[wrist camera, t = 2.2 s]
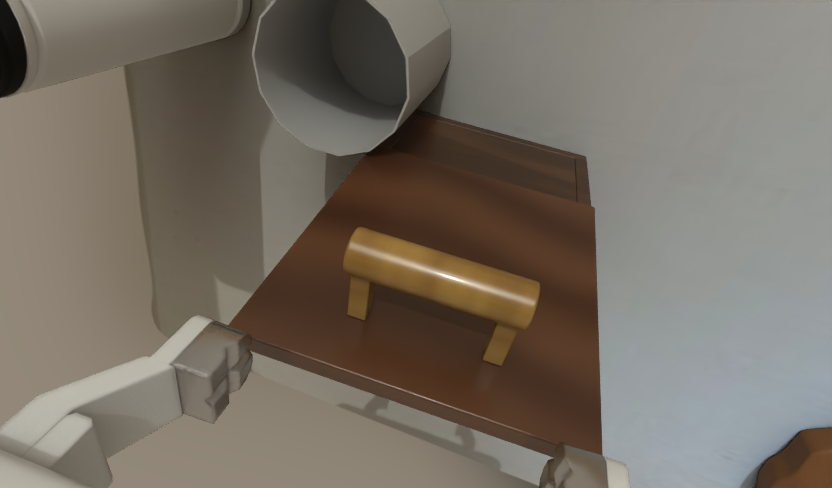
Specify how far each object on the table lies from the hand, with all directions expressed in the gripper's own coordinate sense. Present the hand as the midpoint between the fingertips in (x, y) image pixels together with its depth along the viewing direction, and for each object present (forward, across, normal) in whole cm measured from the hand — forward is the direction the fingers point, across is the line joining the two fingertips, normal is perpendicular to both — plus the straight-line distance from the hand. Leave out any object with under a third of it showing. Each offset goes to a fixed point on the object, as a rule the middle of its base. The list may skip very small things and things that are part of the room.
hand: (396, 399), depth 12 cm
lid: (+9, 0, +2) cm, 10 cm away
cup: (+25, +9, -3) cm, 26 cm away
